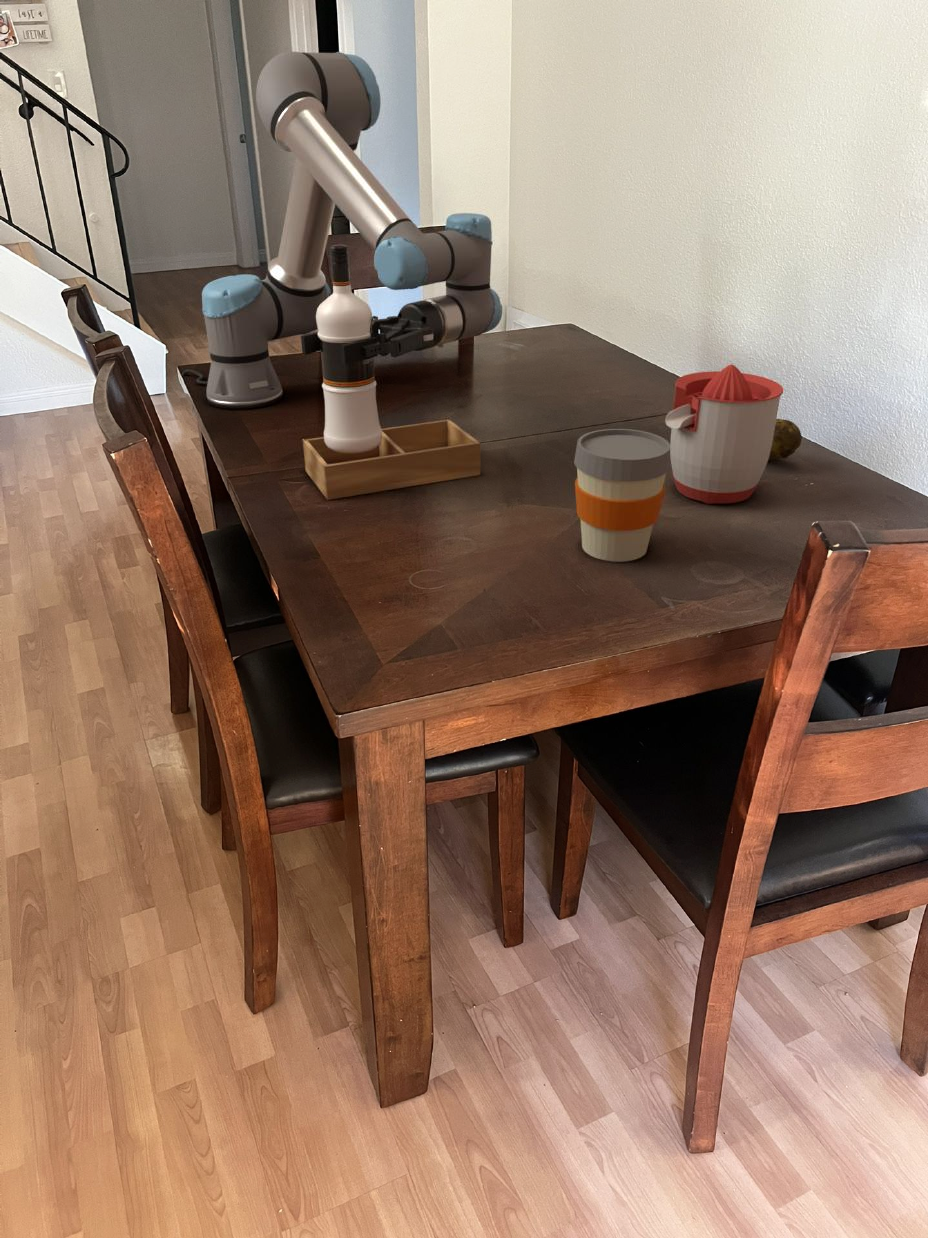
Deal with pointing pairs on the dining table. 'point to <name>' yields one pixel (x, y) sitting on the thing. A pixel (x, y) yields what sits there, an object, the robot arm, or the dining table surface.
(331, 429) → the vodka
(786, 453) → the potato
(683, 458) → the citrus juicer
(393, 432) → the wooden divided tray
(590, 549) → the reusable coffee cup
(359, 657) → the dining table surface
